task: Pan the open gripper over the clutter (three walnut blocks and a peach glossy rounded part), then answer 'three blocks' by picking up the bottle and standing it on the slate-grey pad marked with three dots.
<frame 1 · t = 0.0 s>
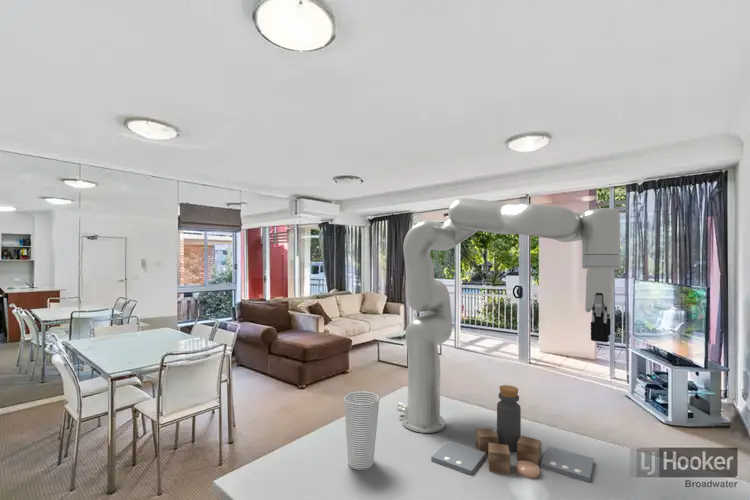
hand: (601, 337, 84), 31 cm above the table, fingers open, 9 cm apart
bottle: (508, 446, 96), on the table
block b: (529, 460, 90), on the table
pad three: (567, 464, 88), on the table
cup: (360, 464, 87), on the table
peach glossy rounded part: (527, 473, 84), on the table
block a: (498, 467, 86), on the table
pad two: (459, 458, 90), on the table
block c: (486, 450, 94), on the table
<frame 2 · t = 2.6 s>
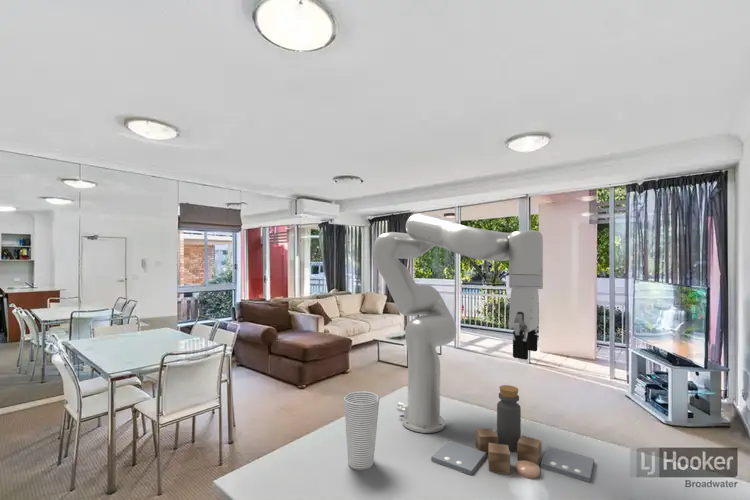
hand: (525, 354, 87), 26 cm above the table, fingers open, 9 cm apart
nothing on the table moved.
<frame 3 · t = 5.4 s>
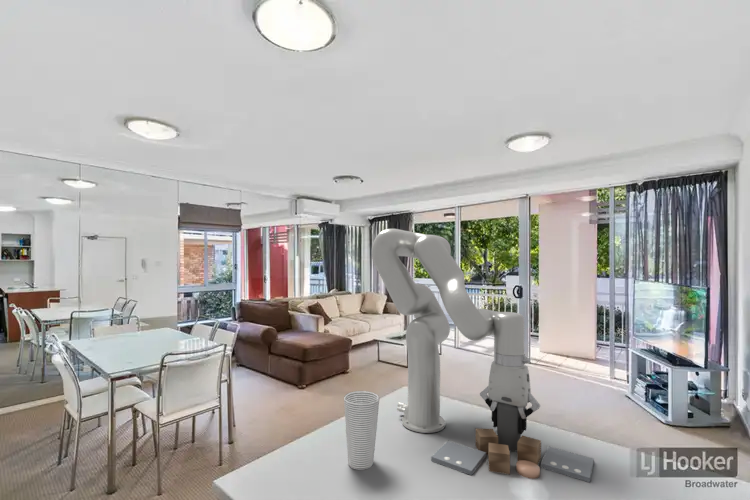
hand: (508, 428, 97), 5 cm above the table, fingers closed on bottle, 5 cm apart
bottle: (508, 446, 96), on the table, touching gripper
everything else where it was.
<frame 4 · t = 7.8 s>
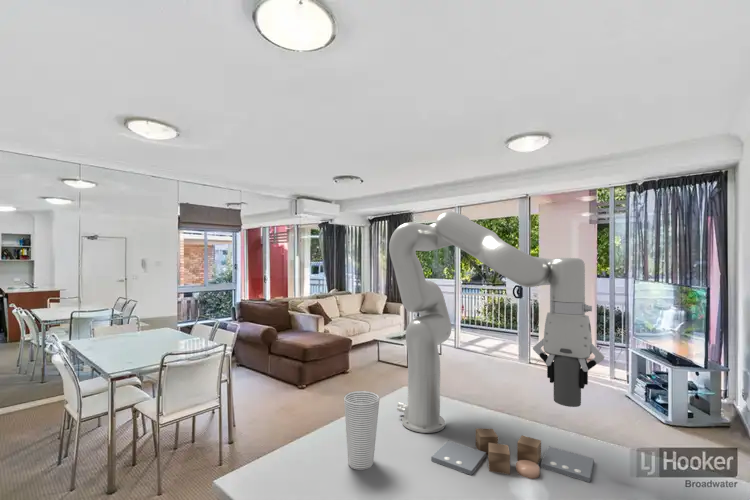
hand: (567, 383, 88), 19 cm above the table, fingers closed on bottle, 5 cm apart
bottle: (567, 403, 88), point 15 cm above the table, touching gripper
everything else where it was.
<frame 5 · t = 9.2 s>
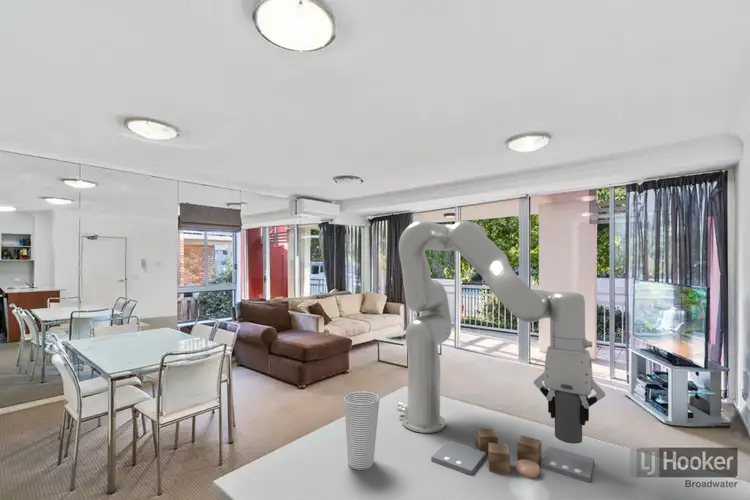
hand: (568, 419, 88), 11 cm above the table, fingers closed on bottle, 5 cm apart
bottle: (568, 438, 88), point 6 cm above the table, touching gripper
everything else where it was.
when the fingers open (7 cm above the table, at t = 10.4 s): bottle drops 1 cm, resting on pad three.
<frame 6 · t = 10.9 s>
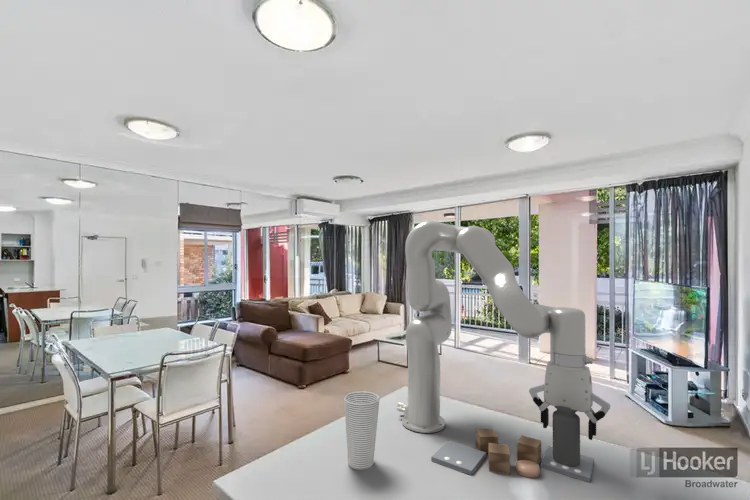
hand: (567, 431, 88), 8 cm above the table, fingers open, 9 cm apart
bottle: (566, 461, 88), point 1 cm above the table, touching pad three
everything else where it was.
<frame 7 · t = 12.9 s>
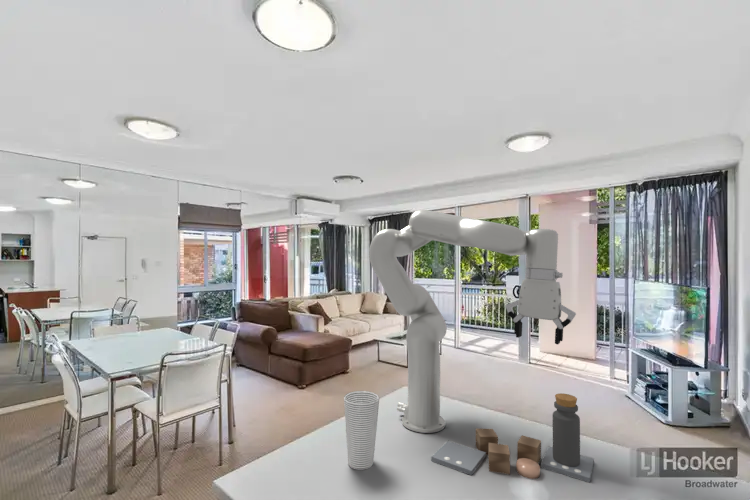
hand: (537, 340, 97), 28 cm above the table, fingers open, 9 cm apart
nothing on the table moved.
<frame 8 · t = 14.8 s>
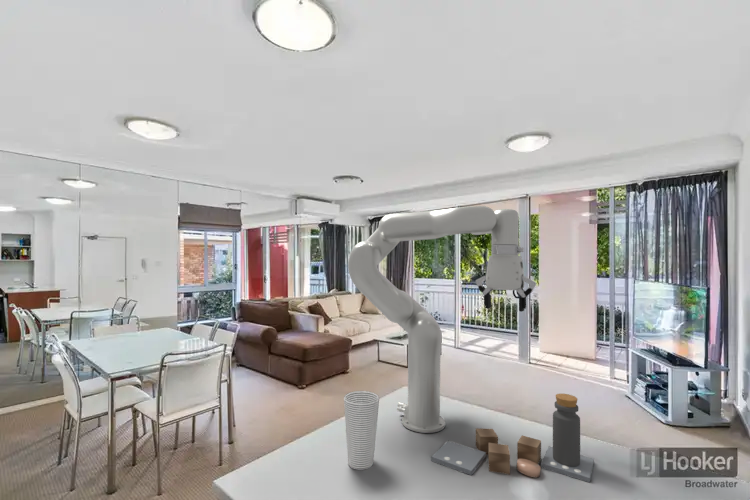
hand: (504, 309, 108), 34 cm above the table, fingers open, 9 cm apart
nothing on the table moved.
at the end: bottle 0.3 cm from the pad three (horizontally); bottle point 0.8 cm above the table; bottle tilted 0° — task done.
